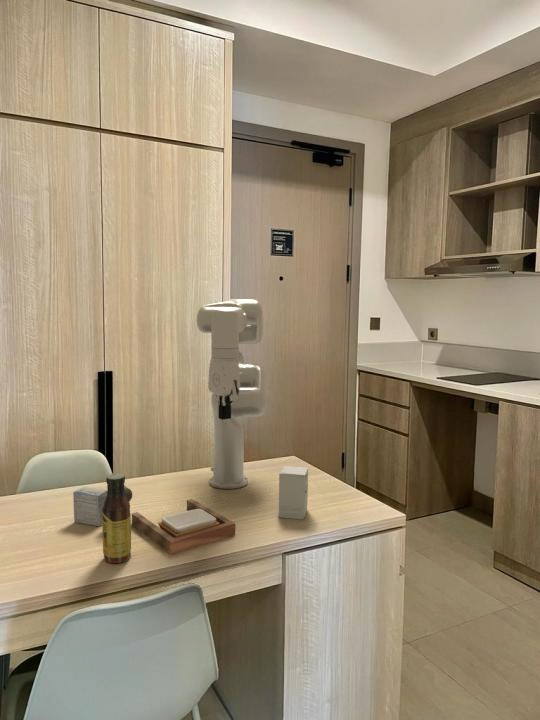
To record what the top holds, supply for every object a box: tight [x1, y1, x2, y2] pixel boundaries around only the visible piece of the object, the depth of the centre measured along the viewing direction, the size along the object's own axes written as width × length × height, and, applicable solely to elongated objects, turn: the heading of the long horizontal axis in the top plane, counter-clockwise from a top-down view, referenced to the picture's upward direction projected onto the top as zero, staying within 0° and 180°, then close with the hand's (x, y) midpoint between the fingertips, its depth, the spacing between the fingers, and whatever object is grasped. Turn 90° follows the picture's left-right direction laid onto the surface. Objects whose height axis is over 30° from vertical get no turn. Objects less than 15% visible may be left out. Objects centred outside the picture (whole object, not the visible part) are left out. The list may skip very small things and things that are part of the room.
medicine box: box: [72, 486, 107, 527], centre depth 147 cm, size 8×4×9 cm, turn 71°
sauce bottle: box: [101, 472, 132, 564], centre depth 126 cm, size 7×6×20 cm
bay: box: [124, 485, 236, 555], centre depth 142 cm, size 25×23×11 cm
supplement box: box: [277, 465, 309, 520], centre depth 154 cm, size 7×7×13 cm
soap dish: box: [157, 509, 220, 538], centre depth 139 cm, size 12×10×5 cm
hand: (224, 418), depth 155 cm, fingers closed
